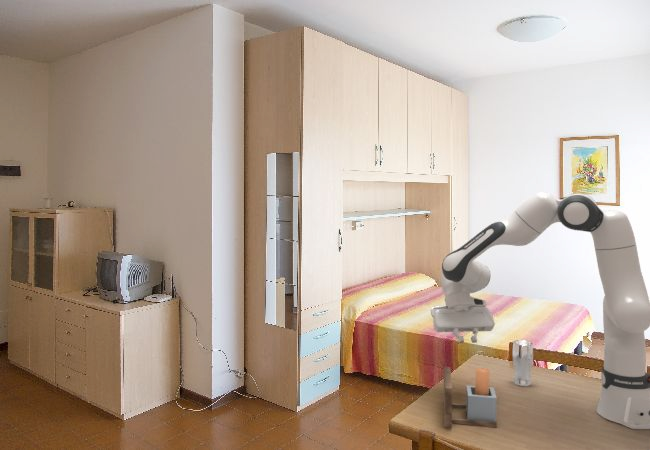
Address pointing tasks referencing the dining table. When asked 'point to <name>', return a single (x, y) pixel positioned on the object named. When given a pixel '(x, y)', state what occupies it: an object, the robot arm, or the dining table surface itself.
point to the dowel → (482, 382)
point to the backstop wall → (456, 406)
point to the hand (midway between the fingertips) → (468, 342)
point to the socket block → (480, 405)
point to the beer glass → (522, 362)
